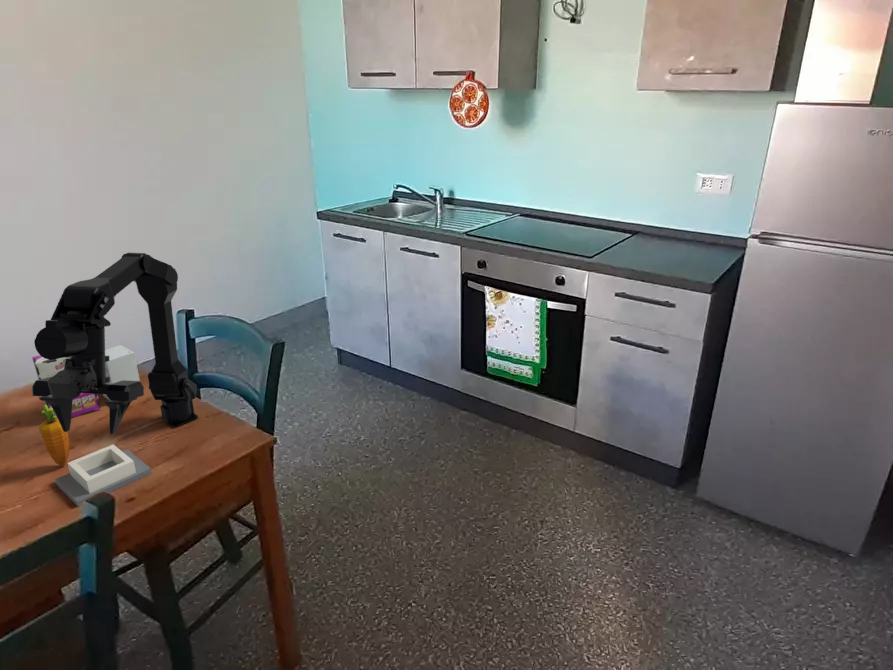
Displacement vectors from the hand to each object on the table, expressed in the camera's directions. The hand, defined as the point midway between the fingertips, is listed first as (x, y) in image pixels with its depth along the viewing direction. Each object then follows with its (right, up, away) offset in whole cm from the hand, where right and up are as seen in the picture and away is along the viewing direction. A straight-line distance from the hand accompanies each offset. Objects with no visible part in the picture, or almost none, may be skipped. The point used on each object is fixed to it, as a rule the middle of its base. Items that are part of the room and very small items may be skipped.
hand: (89, 432), depth 120 cm
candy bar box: (-25, -1, +38) cm, 45 cm away
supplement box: (-17, +2, +46) cm, 49 cm away
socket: (-4, -12, +13) cm, 18 cm away
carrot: (-15, -10, +17) cm, 25 cm away
